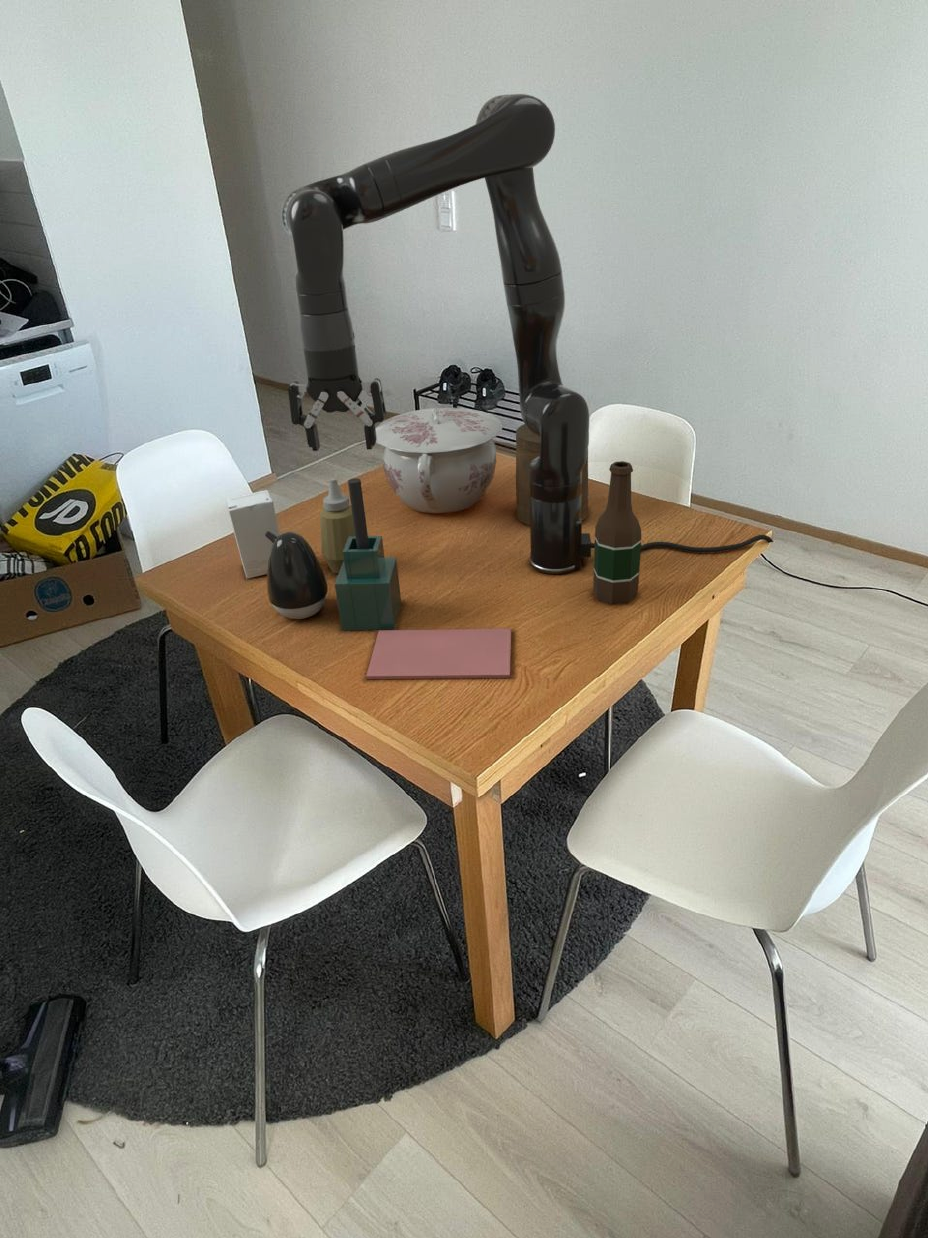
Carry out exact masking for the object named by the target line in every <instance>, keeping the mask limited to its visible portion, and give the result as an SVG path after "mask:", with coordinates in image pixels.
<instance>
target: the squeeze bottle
mask: <svg viewBox="0 0 928 1238" xmlns="http://www.w3.org/2000/svg"><path fill="white" fill-rule="evenodd" d="M328 483H329V484H328V495H326V496H324V497H323V499H322V503H323V508H322V509H321V510H320V512H319V521H320V522H319V523H320V542H321V543H320V544H321V554H322V556H323V558H324V560H325V562H326V563H327V565H328V567H329V569H330V571H331V572H333V573H335V574H339V572H340V569H341V567H342V564H343V562H344V557H343V550H344V548H345V545H346V543H347V540H348V538H349V536H353V537H354V536H355V530H354V522H353V515H352V508H351V504H350V497H349V496H348V495H347V494H346V493H342V490H341V488H340V485H339V483H338V480H337V478H335V477H332V478H329V481H328Z"/></svg>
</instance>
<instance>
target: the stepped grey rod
mask: <svg viewBox="0 0 928 1238" xmlns="http://www.w3.org/2000/svg"><path fill="white" fill-rule="evenodd" d="M347 485H348V487H347V488H348V492H349V502H350V505H351V508H352V515H353V522H354V530H355V537H356V544H357V549H369V541H368V536H369V535H368V534H369V533H368V526H367V520H366V512H365V511H366V510H365V504H364V503H365V502H364V497H363V488H362V480H361V478H356V477H353V478H350V479H348V480H347Z"/></svg>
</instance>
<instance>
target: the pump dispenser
mask: <svg viewBox="0 0 928 1238" xmlns="http://www.w3.org/2000/svg"><path fill="white" fill-rule="evenodd" d="M265 536H266V537H267V538H268V539H269V540H270V541H271V542H272V543H273V545H272V547H271V551H270V555H269V560H268V568H267V574H266V589H267V597H268V601H269V603H270V604H272V606H273V608H274V609H275V611H276V612H277V613H279V614H280V615H281V616H282V617H284V618H288V619H290V620H302V619H303V620H304V619H307V618H310V617H312V616H314V615H315V614H317V613H318V612H320V610H321V609H322V608H323V606H324V604H325V602H326V598H327V594H328V592H329V589H328V584H327V580H326V577H325V574H324V571H323V567H322V566H321V563H320V561H319V559H318V557H317V556H316V553H315V552H314V550H313V548H312V547H311V545H310V544H309V542H308V540H306V539H305V538H304V536H302V535H301V534H299V533H297V532H295V531H285V532H282V533H280V535H279V536H278V537H277V536H276V535H274V534H273V533H271V532H269V531H267V532H266V533H265Z"/></svg>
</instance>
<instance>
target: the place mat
mask: <svg viewBox="0 0 928 1238" xmlns="http://www.w3.org/2000/svg"><path fill="white" fill-rule="evenodd" d="M511 648H512V628H467V629H466V628H463V629H462V628H458V629H457V628H454V629H395V630H378V632H377V635H376V639H375V642H374V647H373V650H372V654H371V658H370V662H369V665H368V668H367V672H366V676H365V677H366V680H415V679H416V680H422V679H423V680H424V679H425V680H427V679H430V680H434V679H511V654H512V653H511V651H512V649H511Z"/></svg>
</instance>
